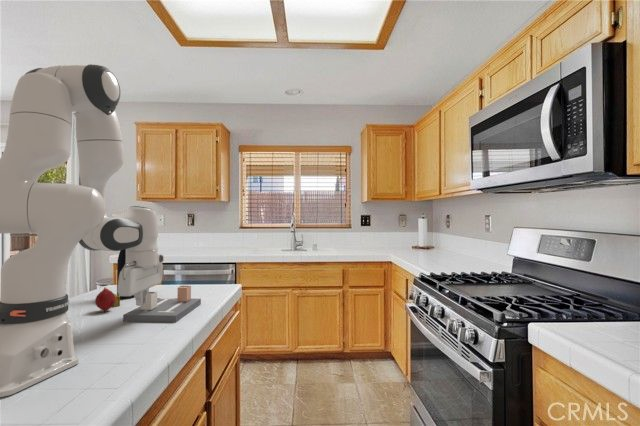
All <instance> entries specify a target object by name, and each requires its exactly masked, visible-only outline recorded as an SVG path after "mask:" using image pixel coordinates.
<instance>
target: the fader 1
mask: <svg viewBox="0 0 640 426" xmlns="http://www.w3.org/2000/svg"><path fill="white" fill-rule="evenodd" d="M157 298H158V291H149V292H148V295H147V300H146V303H145V304H143V305H141V310H152V309H154V308H155V307H157Z"/></svg>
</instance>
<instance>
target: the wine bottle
mask: <svg viewBox="0 0 640 426" xmlns="http://www.w3.org/2000/svg"><path fill="white" fill-rule="evenodd" d="M116 264H117V265H116V266H117V267H116V268H117V269H116V270H117V274H116V275H117V277H116V278H117V279H116V295H119V294H118V280H119V274H120V272H121V270H122V268H123V267H124V265H125V264H126V249H124V250H120V251H119V253H118V256H117V263H116ZM129 299H130V300H131V299H135V297H134V295H132V296H120V300H129Z"/></svg>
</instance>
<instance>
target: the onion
mask: <svg viewBox="0 0 640 426" xmlns="http://www.w3.org/2000/svg"><path fill="white" fill-rule="evenodd" d="M113 293H114V292H113V291H111V290H110V289H109V288H107V287H106V286H104V288H103V289H102V290H101V291H99V293H98V294H97V295H96V296H95V300H94V301H95V302H94V303H95V305H96V307H97V308H98V309H99V310H101V311H103V312H107V311H108V310H110V309H112V308H113V307H112V306H113V305H114V304H115V301H116V297H115V295H114V294H115V293H114V294H113Z"/></svg>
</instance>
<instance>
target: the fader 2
mask: <svg viewBox="0 0 640 426" xmlns="http://www.w3.org/2000/svg"><path fill="white" fill-rule="evenodd" d="M176 298H177V302H187V301H189V300H190V299H192V285H188V284H187V285H179V286H178V287H177V297H176Z"/></svg>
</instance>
